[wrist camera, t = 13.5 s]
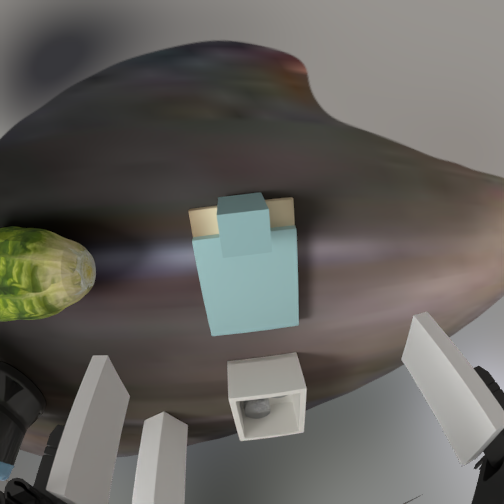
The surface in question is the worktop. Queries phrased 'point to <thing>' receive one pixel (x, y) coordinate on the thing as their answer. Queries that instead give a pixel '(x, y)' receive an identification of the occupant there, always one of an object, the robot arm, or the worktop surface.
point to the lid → (248, 269)
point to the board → (207, 222)
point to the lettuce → (41, 273)
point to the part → (257, 408)
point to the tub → (268, 395)
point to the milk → (161, 461)
